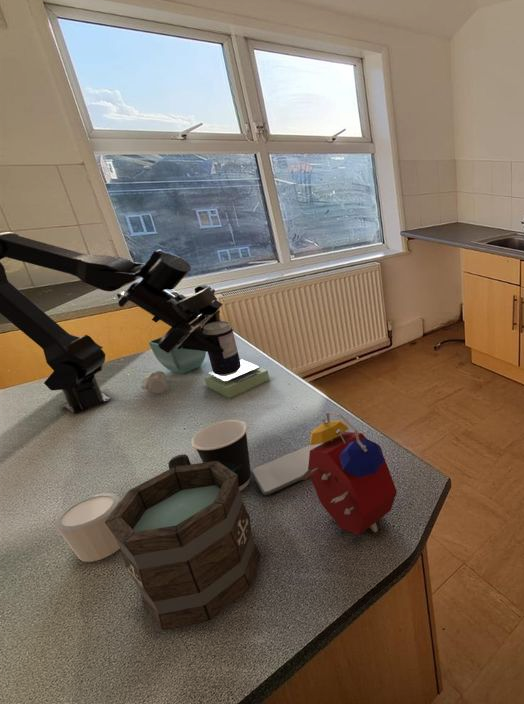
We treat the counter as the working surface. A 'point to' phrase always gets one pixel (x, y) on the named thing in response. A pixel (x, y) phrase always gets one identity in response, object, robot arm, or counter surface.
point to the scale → (237, 383)
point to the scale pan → (243, 370)
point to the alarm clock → (350, 476)
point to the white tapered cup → (89, 527)
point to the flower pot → (178, 357)
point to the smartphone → (282, 470)
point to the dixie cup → (226, 447)
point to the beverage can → (225, 339)
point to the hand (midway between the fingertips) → (228, 346)
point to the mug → (186, 541)
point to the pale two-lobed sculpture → (155, 382)
